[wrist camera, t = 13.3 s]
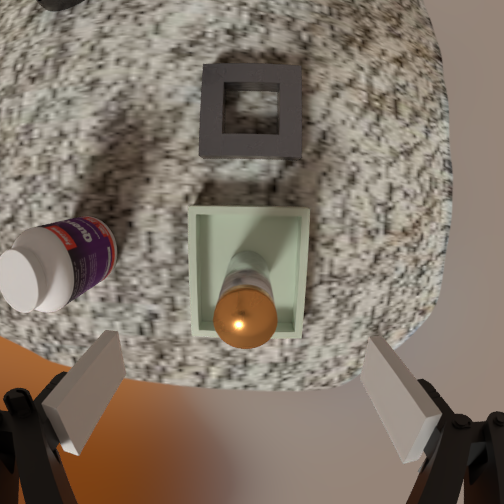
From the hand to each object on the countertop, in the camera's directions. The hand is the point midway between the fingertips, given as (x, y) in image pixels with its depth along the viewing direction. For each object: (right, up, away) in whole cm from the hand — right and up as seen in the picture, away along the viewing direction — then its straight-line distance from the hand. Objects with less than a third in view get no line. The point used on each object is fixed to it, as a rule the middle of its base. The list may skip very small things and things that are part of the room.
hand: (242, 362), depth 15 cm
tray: (0, +4, +19) cm, 20 cm away
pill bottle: (-19, +6, +19) cm, 27 cm away
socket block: (0, +20, +16) cm, 26 cm away
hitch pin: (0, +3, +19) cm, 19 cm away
